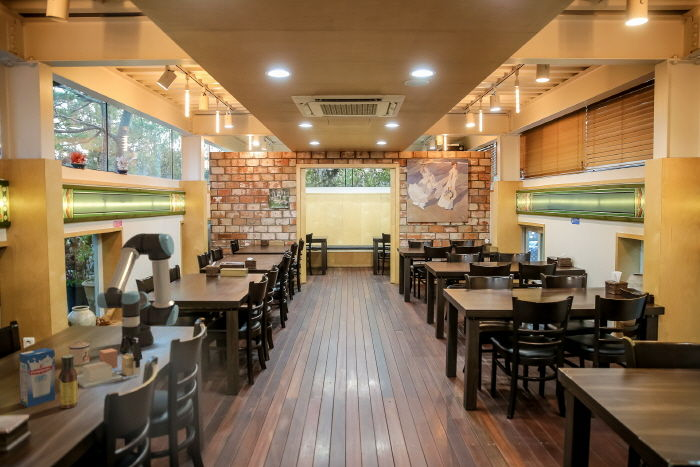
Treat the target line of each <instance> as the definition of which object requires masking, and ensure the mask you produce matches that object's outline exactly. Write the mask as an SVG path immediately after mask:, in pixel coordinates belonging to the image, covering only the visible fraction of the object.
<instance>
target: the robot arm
mask: <svg viewBox="0 0 700 467" xmlns="http://www.w3.org/2000/svg"><path fill="white" fill-rule="evenodd" d="M119 253H120V257H119V260H118V262H117V265H116V267H115V269H114V272H113V275H112V277H111V279H110V282H109V284H108V287H107V289H106V291H105V292H100V293H99V294H98V296H97V299H96V304H97V307H99V308H100V309H121V319H120V321H121V325H122V326H121V340H120V341H121V342H120V348H119V353H121V357H122V356H125V355H129V349H131V354H133V357H134V360H133V375H132V376H136V375H140V374H141V360H143V353H142V347H143V348H144V347H147V346H152V345H154V342H155V338H154V335H153V333H152V331H151V327H152V326H155V327H168V326H174V325H175V324H176V323H177V319H178V316H179V306H178V304H175V300H173V299H172V291H171V290H172V289H171V277H170V276H171V275H170V262H169V260H170V259H171V258H172V255H174V253H175V243H174V240H173V237H172V235H170V234H167V233H138V234H137V233H136V234H135V235H133V236H131V237H129V239H128V240H127V241H126V242H125V243H124V244H123V246H122V247H121V249H120V251H119ZM142 255H143V256H147V257H148V260H149V261H150V262H151V268H152V279H153V280H152V281H153V290H154V291H153V292H154V301H153V302H152V303H151V302H150V301H149V300H150V297H149V295H148V293H147V292H145V291H133V290H132V291H125V289H126V287H127V283H128V281H129V279H130V277H131V274H132V271H133V268H134V266H135V263H136V261H137V260H138V259H139V258H140V256H142Z"/></svg>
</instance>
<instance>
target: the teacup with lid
mask: <svg viewBox="0 0 700 467" xmlns="http://www.w3.org/2000/svg"><path fill="white" fill-rule="evenodd" d="M90 346H91V344H90V343H89V342H87V341H83V340H82V339H77V340H76V342H74V343H70V345H69V347H68V350H69V352H68V353H69V354H68V355H73V356H74V359H73V365H74V366H75V367H76V366H84V365H88V364H89V363H90ZM74 366H73V367H74Z"/></svg>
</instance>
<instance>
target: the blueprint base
mask: <svg viewBox="0 0 700 467" xmlns="http://www.w3.org/2000/svg"><path fill="white" fill-rule="evenodd" d="M121 380H124V376H122V375H120V374H118V372H116V371H114V370H113V368H112V366H111V365H109V364H108V363H106V362H100V361H99V362H94V363H90V364H89V363H88V364H84V365H82V374H77V385H79V386H81V387H82V388H84V389H86V388H87V389H88V388H91V387H95V386H100V385H104V384H108V383H113V382H116V381H121Z"/></svg>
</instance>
